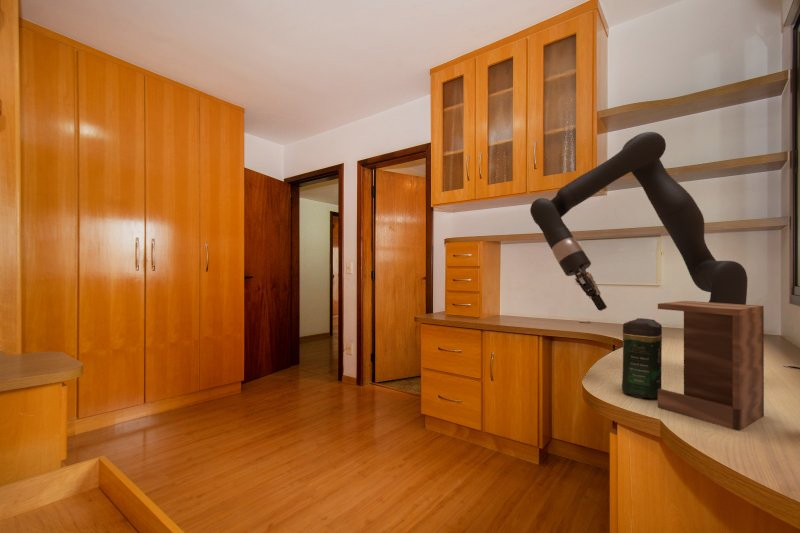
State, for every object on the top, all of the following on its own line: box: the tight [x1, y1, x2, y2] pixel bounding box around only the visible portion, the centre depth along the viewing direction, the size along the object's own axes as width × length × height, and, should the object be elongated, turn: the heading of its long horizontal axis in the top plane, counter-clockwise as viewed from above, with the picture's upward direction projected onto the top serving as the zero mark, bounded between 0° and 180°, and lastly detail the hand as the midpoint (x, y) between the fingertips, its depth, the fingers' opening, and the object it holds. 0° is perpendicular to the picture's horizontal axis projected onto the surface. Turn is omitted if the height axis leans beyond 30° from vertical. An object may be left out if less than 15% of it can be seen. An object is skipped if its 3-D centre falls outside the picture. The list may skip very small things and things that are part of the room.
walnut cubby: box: [657, 300, 765, 431], centre depth 81 cm, size 14×14×23 cm
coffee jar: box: [621, 317, 663, 399], centre depth 92 cm, size 10×8×19 cm
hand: (603, 309), depth 102 cm, fingers closed
